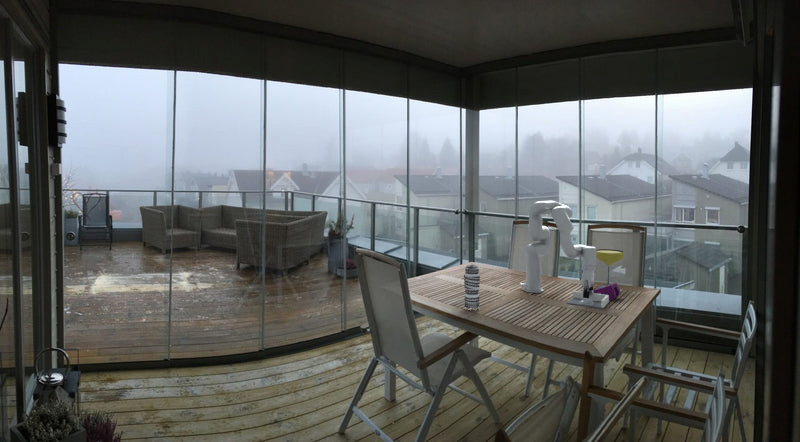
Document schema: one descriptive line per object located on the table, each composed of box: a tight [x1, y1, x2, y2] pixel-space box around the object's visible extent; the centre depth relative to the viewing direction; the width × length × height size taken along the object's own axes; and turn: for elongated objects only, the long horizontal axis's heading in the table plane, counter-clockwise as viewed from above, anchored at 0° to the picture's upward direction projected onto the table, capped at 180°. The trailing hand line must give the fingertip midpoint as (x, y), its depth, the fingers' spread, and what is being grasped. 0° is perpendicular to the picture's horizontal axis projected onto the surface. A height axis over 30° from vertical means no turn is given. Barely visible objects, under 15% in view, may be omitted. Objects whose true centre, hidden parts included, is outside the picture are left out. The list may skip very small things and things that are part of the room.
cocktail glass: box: [596, 248, 625, 288], centre depth 307 cm, size 18×18×25 cm
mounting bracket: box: [593, 282, 621, 302], centre depth 284 cm, size 10×8×18 cm
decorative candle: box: [463, 264, 481, 309], centre depth 262 cm, size 9×9×25 cm
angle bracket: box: [580, 290, 594, 305], centre depth 270 cm, size 6×6×7 cm
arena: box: [566, 290, 610, 310], centre depth 271 cm, size 20×15×5 cm
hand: (588, 296), depth 272 cm, fingers open, 9 cm apart
